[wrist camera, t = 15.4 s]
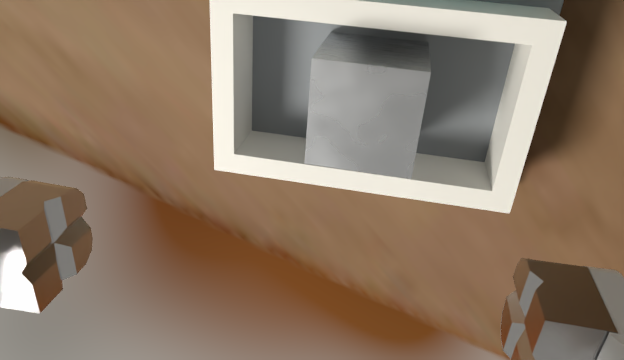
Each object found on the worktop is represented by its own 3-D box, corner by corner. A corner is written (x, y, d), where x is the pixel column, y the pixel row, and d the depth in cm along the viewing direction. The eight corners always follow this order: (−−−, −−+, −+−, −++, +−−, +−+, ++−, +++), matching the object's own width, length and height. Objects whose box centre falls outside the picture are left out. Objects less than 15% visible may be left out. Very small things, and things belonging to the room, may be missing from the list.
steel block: (428, 42, 23) (430, 72, 19) (412, 133, 25) (411, 179, 21) (330, 31, 24) (311, 58, 19) (323, 121, 26) (304, 163, 22)
